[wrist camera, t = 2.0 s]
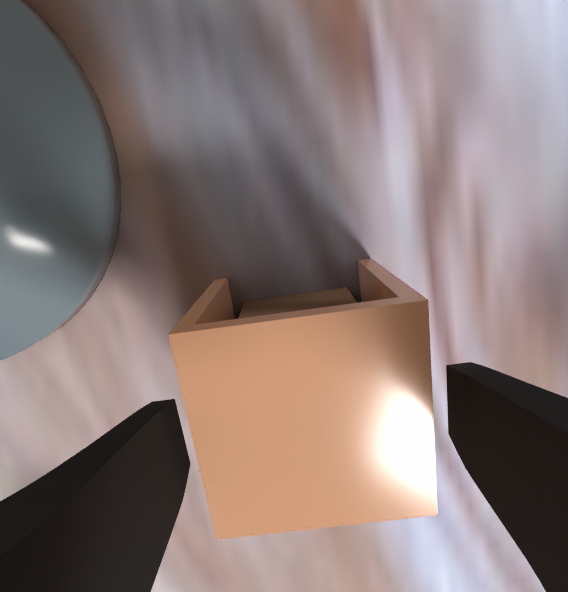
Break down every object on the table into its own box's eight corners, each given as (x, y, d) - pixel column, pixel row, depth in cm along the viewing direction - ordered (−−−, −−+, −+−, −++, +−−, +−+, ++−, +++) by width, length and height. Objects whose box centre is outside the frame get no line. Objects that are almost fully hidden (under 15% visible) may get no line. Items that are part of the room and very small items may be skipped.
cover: (241, 416, 16) (216, 539, 10) (214, 279, 14) (167, 334, 9) (382, 399, 16) (437, 515, 10) (370, 258, 14) (428, 299, 8)
